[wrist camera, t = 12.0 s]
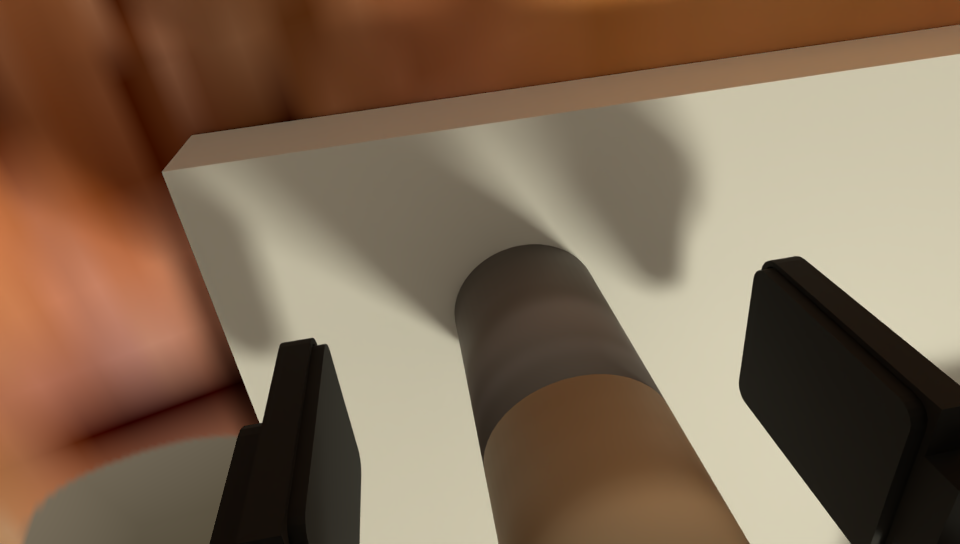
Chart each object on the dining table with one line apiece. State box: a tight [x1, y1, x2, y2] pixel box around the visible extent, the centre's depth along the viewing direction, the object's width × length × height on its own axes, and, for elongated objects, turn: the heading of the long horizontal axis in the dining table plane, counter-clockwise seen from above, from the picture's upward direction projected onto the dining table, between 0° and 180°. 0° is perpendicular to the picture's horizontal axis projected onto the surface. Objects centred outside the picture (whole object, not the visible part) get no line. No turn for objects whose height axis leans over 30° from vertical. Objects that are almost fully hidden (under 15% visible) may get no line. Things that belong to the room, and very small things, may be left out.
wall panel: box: [162, 25, 960, 544], centre depth 18 cm, size 24×28×4 cm
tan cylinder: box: [454, 244, 750, 544], centre depth 10 cm, size 3×3×8 cm
